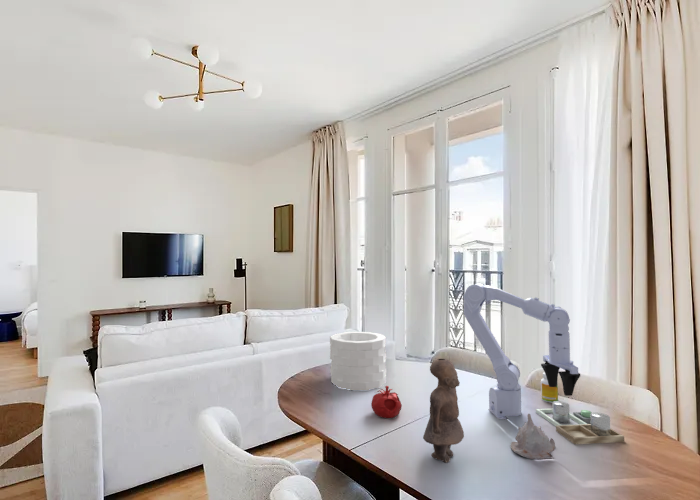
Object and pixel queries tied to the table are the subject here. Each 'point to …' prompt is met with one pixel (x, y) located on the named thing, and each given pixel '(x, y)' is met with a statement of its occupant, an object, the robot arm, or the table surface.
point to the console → (578, 415)
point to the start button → (585, 413)
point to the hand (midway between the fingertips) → (560, 390)
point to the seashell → (532, 442)
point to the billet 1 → (561, 412)
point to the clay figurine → (444, 411)
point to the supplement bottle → (548, 390)
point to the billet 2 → (600, 424)
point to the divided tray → (587, 434)
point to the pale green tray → (542, 413)
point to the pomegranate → (386, 404)
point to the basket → (358, 360)
